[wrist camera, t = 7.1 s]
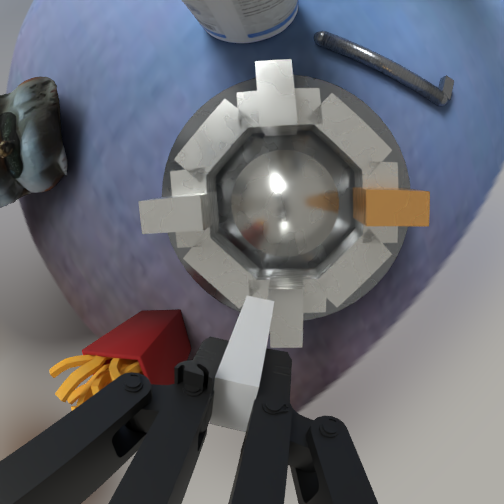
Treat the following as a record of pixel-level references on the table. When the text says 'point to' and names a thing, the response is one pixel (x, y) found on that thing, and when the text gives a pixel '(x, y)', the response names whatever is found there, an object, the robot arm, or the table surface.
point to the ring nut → (274, 124)
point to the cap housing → (287, 193)
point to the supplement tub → (243, 18)
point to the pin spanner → (387, 67)
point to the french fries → (128, 355)
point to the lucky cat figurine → (30, 140)
